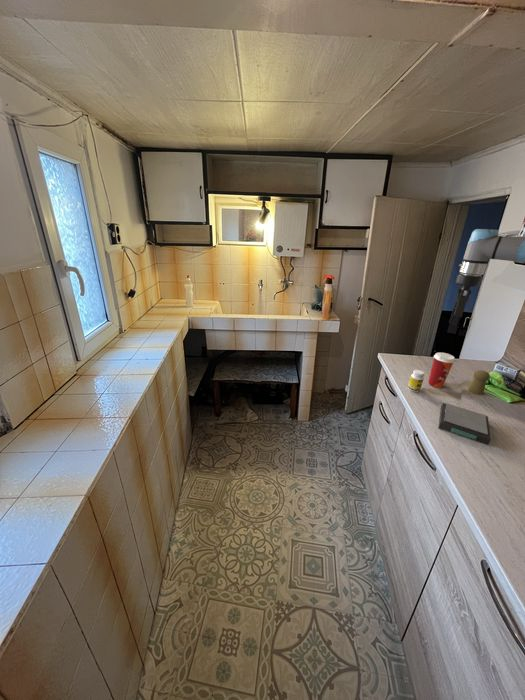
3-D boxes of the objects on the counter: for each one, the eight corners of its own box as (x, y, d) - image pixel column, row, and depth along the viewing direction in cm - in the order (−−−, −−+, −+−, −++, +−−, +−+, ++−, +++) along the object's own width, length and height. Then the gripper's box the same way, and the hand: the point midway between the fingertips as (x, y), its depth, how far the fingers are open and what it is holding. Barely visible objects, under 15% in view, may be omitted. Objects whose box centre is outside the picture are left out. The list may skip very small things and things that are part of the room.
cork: (464, 395, 116) (474, 372, 111) (465, 389, 120) (474, 366, 115) (482, 401, 112) (493, 377, 108) (482, 394, 117) (492, 371, 112)
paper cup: (443, 391, 118) (453, 361, 112) (423, 384, 123) (432, 355, 117) (447, 384, 123) (457, 355, 118) (428, 377, 128) (437, 350, 122)
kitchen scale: (485, 422, 100) (488, 414, 99) (488, 445, 89) (492, 437, 88) (440, 408, 107) (443, 400, 106) (438, 428, 96) (441, 420, 95)
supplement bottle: (416, 393, 116) (421, 375, 112) (405, 388, 119) (410, 371, 116) (421, 390, 118) (427, 372, 115) (411, 385, 122) (416, 368, 118)
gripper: (458, 269, 115) (442, 318, 124) (458, 277, 96) (439, 335, 105) (480, 271, 112) (462, 322, 121) (484, 280, 92) (462, 339, 101)
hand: (451, 328), depth 113 cm, fingers open, 13 cm apart
